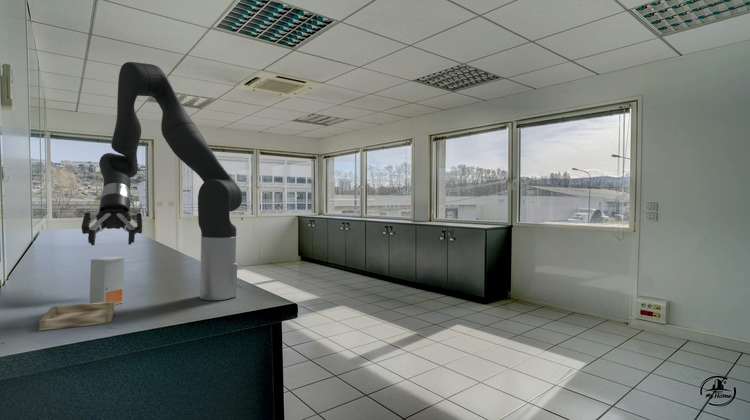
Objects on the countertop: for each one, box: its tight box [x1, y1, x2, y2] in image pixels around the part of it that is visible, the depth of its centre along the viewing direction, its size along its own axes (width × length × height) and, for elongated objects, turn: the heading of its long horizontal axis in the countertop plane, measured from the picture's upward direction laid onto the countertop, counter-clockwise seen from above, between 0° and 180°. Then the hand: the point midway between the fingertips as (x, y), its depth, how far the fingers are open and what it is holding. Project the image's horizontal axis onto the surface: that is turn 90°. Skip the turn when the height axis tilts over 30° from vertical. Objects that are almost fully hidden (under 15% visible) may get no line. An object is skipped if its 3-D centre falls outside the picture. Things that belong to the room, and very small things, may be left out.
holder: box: [38, 301, 116, 331], centre depth 86 cm, size 12×12×2 cm
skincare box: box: [89, 256, 125, 306], centre depth 97 cm, size 6×4×12 cm
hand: (111, 243), depth 106 cm, fingers open, 8 cm apart
